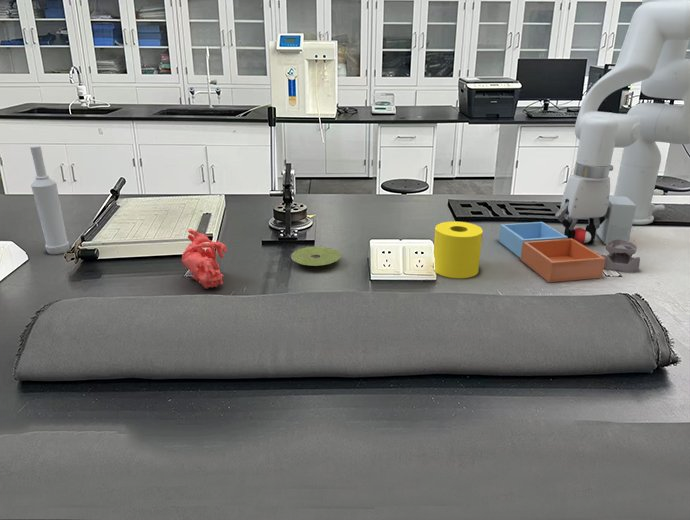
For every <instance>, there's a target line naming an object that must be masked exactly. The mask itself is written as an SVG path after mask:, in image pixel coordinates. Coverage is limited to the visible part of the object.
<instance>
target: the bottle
mask: <svg viewBox="0 0 690 520" xmlns="http://www.w3.org/2000/svg"><path fill="white" fill-rule="evenodd" d="M29 149H30V153H31V155H32V161H33V165H34V169H35V174H36V176H35V180H34V181H32V183H31V184H30V187H31V190H32V194H33V198H34V202H35V206H36V210H37V214H38V219H39V221H40V225H41V230H42V233H43V237H44V242H45V245H44V246H45V250H46V252H47V254H49V255H60V254H64V253H67V252H69V251H70V249H71V247H70V241H69V240H68V238H67V237H68V236H67V231H66V227H65V221H64V216H63V211H62V205H61V199H60V196H59V195H60V194H59V191H58V185H57V182H56V181H55V180H53V179H52V178H50V176H49V175H47V171H46V166H45V162H44V158H43V151H42V147H41V145H31V146H30V147H29ZM68 250H69V251H68Z"/></svg>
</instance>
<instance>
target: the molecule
mask: <svg viewBox="0 0 690 520" xmlns="http://www.w3.org/2000/svg"><path fill="white" fill-rule="evenodd" d="M573 230H575V237H574V240H576V241H577V242H579V243H581V244H582V245H584V244H587V243H588V242H589V241H590V240H591V234H590V233H589V232H588V231H585V229H584V228H583V227H574V229H573Z"/></svg>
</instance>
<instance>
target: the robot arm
mask: <svg viewBox="0 0 690 520" xmlns="http://www.w3.org/2000/svg"><path fill="white" fill-rule="evenodd" d="M689 43H690V0H642V1H641V5H639V6H638V7H637V8H636V9H635V11H634V12H633V13H632V17H631V19H630V22H629V25H628V28H627V31H626V34H625V37H624V39H623V43H622V45H621V48H620V51H619V54H618V55H617V56H618V57H617V60H616V63H615V65H614V66H613V68H612V69H610V70H609V71H608V72H607V73H605V74H604V75H602V77H601V78H599V79H598V80H597V81H596V82H595V83H594V84H593V85H592V86H591V87H590V88H589V90H588V91H587V92H586V95H585V96H584V98H583V100H582V102H581V104H580V107H579V111H578V114H577V116H576V121H575V124H574V134H575V137H576V139H578V140H579V141H578V147H577V152H576V158H575V162H574V163H575V164H574V170H573V174H571V175H569V177H568V180H567V182H566V185H565V187H564V190H563V194H562V199H561V203H560V208H559V210H558V211H557V212H556V213H555V215H554V218H556V220H558V221H559V222H560V223H561V224H562V226H563V227H564V232H563V234H564V235H565V236H567V237H568V239H570V238H572V239H574V237H575V230H573V229H575V228H576V224H577V223H578V220H580V219H587V220H588V221H587V223H588V224H586V225H585V229H584V230H585V231H588V232H589V233H590V234H591V240H590V241H589V242H587V243H588V244H589V245H594V243H595V238H596V235H597V230H598V228H599V227H600V224H602V223H603V222H604V221H605V219H607V218H608V216H609V211H610V209H609V207H608V203H609V196H611V195H610V193H611V177H610V176H609V174H610V172H612V171H613V170H614V165H612V160H613V154H614V149H615V148H623V149H622V155H621V160H620V164H619V169H618V174H617V179H616V184H615V189H614V194H613V196H620V197H627V198H629V199H630V200H631V201H632V202H633V203H634V204H635V205H636V209H635V214H634V219H633V224H632V225H640V226H641V225H649V224H652V223H653V222H654V219H655V216H654V215H653V214H654V213H655V212H663V211H665V209H666V207H665V204H654V203H653V202H652V201H653V196H654V193H655V188H656V183H657V179H658V176H659V171H660V167H661V163H662V154H661V151H660V149H659V146H658V145H657V143H666V144H674V145H690V59H686V55H687V51H688V47H689ZM639 82H640V92H641V93H642V95H644V96H646V97H650V98H656V99H668V100H680V101H681V100H682V101H683V105H680V104H669V103H660V102H659V103H658V102H640V103H637V104H635V105H633V106H632V107H630V108H629V110H628V111H627V113H616V112H609V111H608V112H607V111H599V110H598V109H600V108H599V107H600V106H601V104H602V103H603V101H604V100H605V99H606V98H607V97H608V96H610V95H611V94H613V93H614V92H617V91H618V90H621V89H622V88H625V87H628V86H631V85H634V84H636V83H639ZM565 215H566V217H565Z"/></svg>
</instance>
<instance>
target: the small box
mask: <svg viewBox="0 0 690 520" xmlns="http://www.w3.org/2000/svg"><path fill="white" fill-rule="evenodd" d="M608 207H609V209H610V211H609V216H608V218H607V219H605V221H604V222H603V223H602V224H600V227H599V228H598V229H597V230H596V235H597V236H598V238H599V239H600V240H601V242H602V243H603V244H604V245H606V244H607V242H609V241H611V240H614V239H615V240H624V241H628V242H630V237H631V233H632V229H633V225H634V224H633V219H634V214H635V209H636V205H635V204H634V203H633V202H632V201H631V200H630V199H629V198H627V197H620V196H614V195H610V196H609V203H608Z"/></svg>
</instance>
